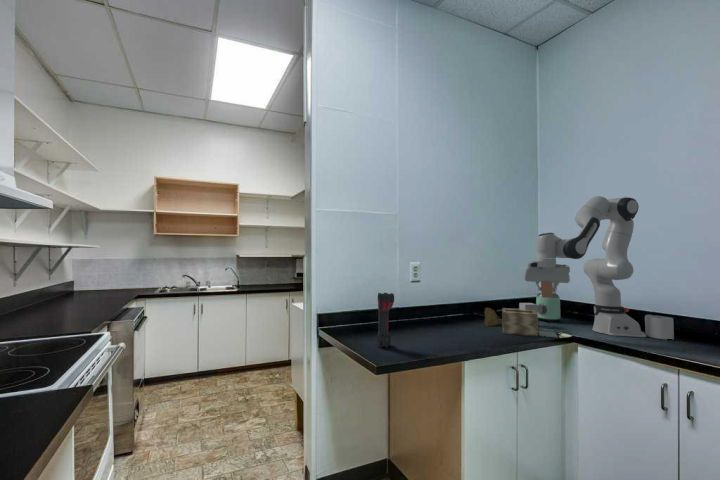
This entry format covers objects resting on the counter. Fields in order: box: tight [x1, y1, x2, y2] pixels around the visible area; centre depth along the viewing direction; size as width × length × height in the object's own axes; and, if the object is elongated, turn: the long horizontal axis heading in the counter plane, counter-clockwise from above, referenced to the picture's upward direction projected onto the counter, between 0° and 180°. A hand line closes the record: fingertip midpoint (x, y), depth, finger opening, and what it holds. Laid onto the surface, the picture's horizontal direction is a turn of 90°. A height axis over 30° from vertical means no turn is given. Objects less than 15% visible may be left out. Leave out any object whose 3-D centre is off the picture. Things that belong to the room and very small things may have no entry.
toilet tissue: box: [644, 314, 675, 340], centre depth 166 cm, size 11×12×10 cm
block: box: [541, 282, 552, 298], centre depth 169 cm, size 4×4×8 cm
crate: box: [501, 307, 539, 338], centre depth 174 cm, size 16×14×11 cm
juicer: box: [535, 282, 561, 324], centre depth 207 cm, size 19×13×35 cm
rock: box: [484, 307, 502, 327], centre depth 191 cm, size 11×9×10 cm
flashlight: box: [376, 292, 395, 348], centre depth 146 cm, size 8×8×23 cm
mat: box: [538, 330, 559, 339], centre depth 168 cm, size 8×10×1 cm
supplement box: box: [518, 302, 539, 322], centre depth 191 cm, size 7×7×13 cm
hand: (546, 291), depth 169 cm, fingers closed on block, 4 cm apart
